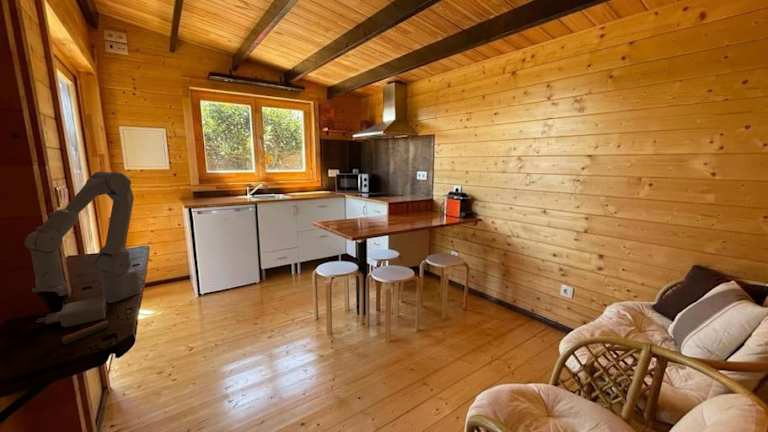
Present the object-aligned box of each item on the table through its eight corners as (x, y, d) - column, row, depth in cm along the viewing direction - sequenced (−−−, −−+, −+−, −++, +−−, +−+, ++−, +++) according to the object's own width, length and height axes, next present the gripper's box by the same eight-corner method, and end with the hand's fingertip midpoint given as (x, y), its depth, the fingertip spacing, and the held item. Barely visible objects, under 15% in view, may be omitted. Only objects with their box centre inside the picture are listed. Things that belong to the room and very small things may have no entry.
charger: (42, 322, 97) (107, 308, 106) (34, 335, 90) (105, 320, 99) (39, 307, 96) (105, 295, 105) (31, 320, 89) (102, 305, 98)
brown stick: (107, 326, 95) (106, 320, 94) (109, 326, 94) (108, 321, 94) (62, 343, 86) (61, 337, 85) (65, 344, 85) (63, 338, 85)
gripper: (18, 271, 95) (26, 313, 97) (42, 279, 89) (50, 324, 92) (50, 264, 101) (57, 304, 104) (74, 271, 95) (81, 313, 98)
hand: (56, 312), depth 98 cm, fingers closed
